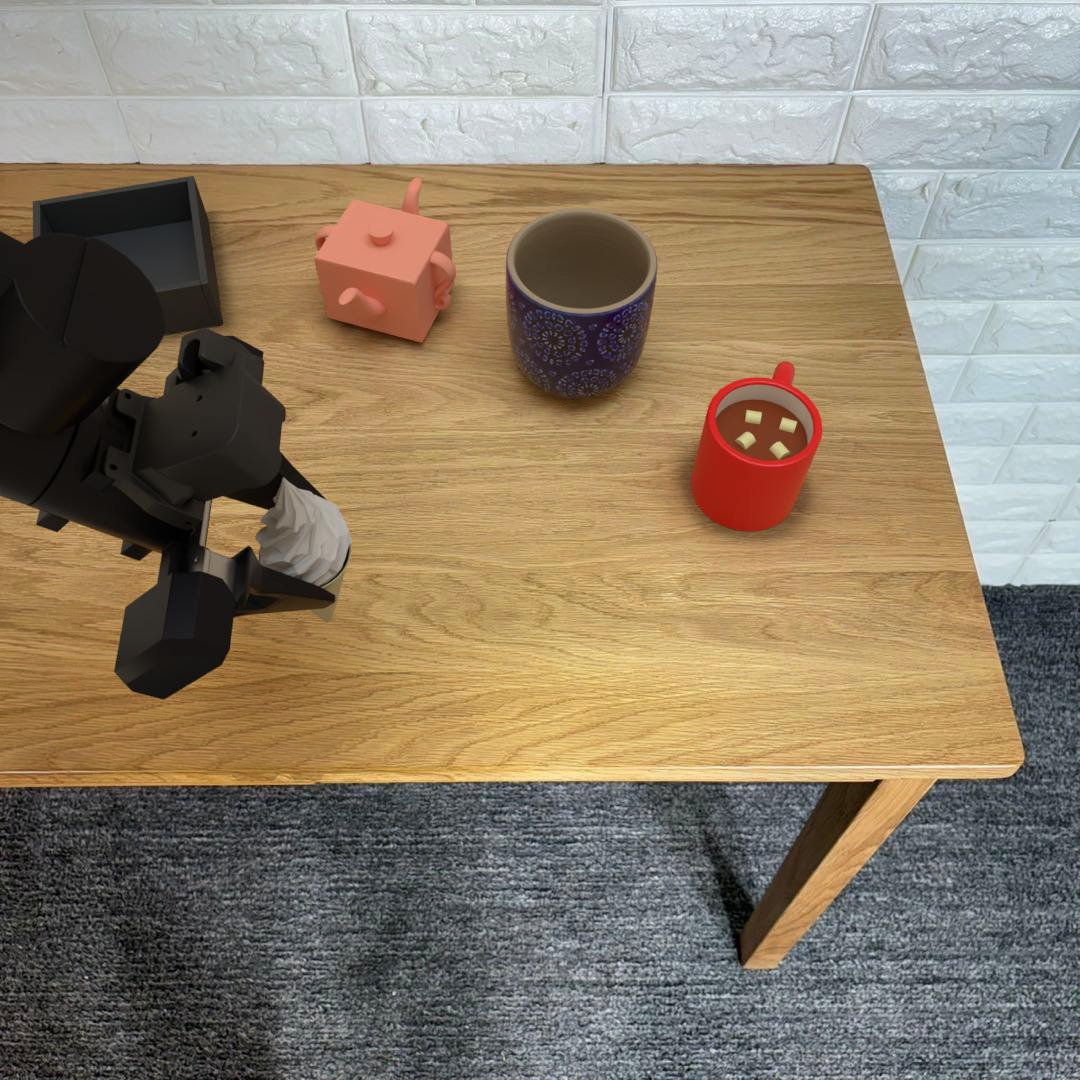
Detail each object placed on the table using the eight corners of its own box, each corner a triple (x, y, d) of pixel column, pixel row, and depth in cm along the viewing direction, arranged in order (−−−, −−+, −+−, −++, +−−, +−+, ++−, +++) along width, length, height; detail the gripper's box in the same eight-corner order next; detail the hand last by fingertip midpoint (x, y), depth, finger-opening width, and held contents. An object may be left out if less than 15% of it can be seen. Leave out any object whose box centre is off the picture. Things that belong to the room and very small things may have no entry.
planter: (592, 296, 84) (601, 187, 75) (669, 380, 80) (689, 275, 70) (482, 347, 81) (476, 240, 72) (555, 438, 76) (559, 336, 67)
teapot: (288, 351, 81) (265, 274, 74) (364, 230, 88) (350, 150, 81) (424, 389, 79) (414, 313, 72) (490, 262, 86) (487, 182, 79)
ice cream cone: (380, 640, 61) (345, 503, 48) (298, 668, 60) (240, 535, 47) (356, 573, 63) (317, 425, 50) (277, 598, 62) (217, 454, 49)
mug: (817, 421, 78) (845, 352, 71) (783, 544, 72) (809, 481, 65) (719, 393, 79) (737, 323, 72) (677, 512, 73) (693, 447, 66)
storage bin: (57, 354, 80) (33, 313, 76) (54, 244, 87) (32, 201, 83) (223, 324, 82) (208, 283, 78) (208, 218, 89) (193, 175, 85)
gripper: (100, 554, 36) (429, 667, 46) (170, 204, 46) (429, 360, 56) (-25, 656, 42) (289, 737, 52) (60, 330, 52) (310, 450, 62)
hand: (333, 560), depth 55 cm, fingers closed on ice cream cone, 5 cm apart
